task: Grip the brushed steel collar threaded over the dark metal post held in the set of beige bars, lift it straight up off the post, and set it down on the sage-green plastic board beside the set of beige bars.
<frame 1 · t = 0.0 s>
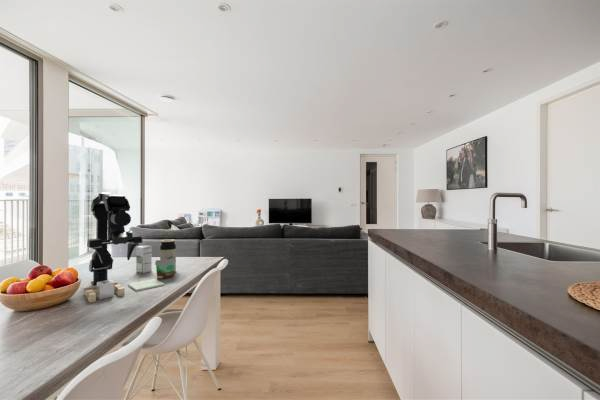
hand: (115, 261, 117), 15 cm above the table, tool pointing down, fingers open, 9 cm apart
food container: (168, 277, 146), on the table
syrup box: (144, 271, 158), on the table
travel mug: (168, 272, 157), on the table
steel collar: (105, 296, 117), resting in set of beige bars
set of beige bars: (105, 296, 117), on the table
board: (146, 285, 132), on the table
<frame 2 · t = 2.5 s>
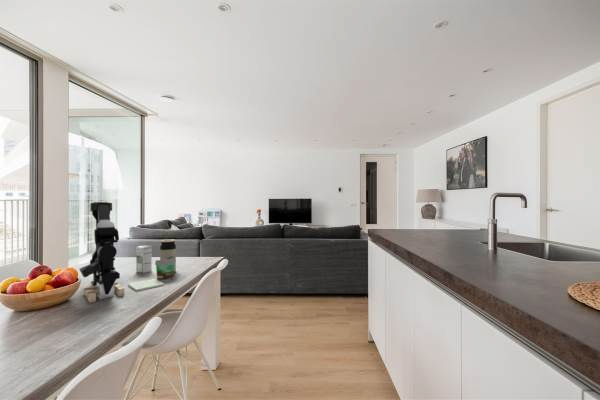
hand: (105, 292, 117), 2 cm above the table, tool pointing down, fingers closed on steel collar, 5 cm apart
steel collar: (105, 296, 117), resting in set of beige bars, touching gripper
everything else where it was.
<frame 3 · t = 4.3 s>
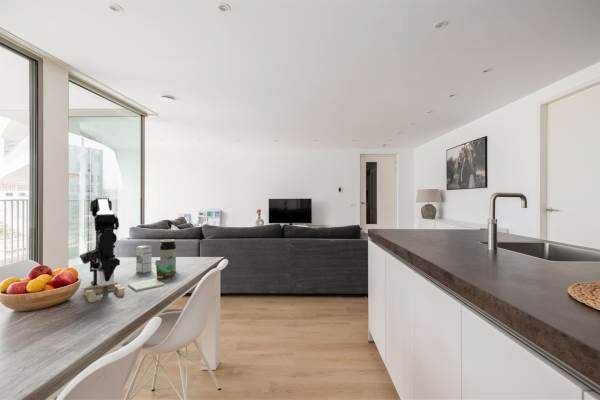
hand: (105, 280, 117), 7 cm above the table, tool pointing down, fingers closed on steel collar, 5 cm apart
steel collar: (105, 283, 117), point 5 cm above the table, touching gripper
everything else where it was.
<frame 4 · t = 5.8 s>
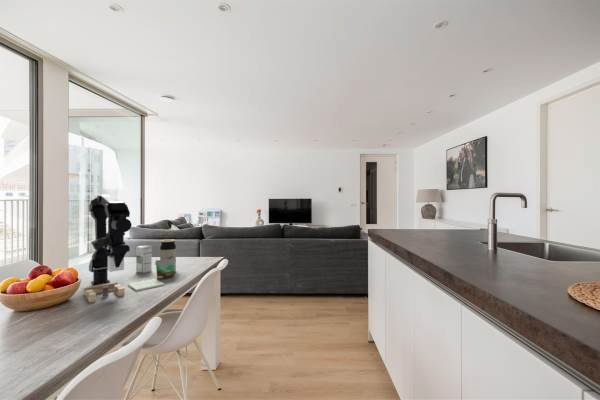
hand: (115, 266, 121), 12 cm above the table, tool pointing down, fingers closed on steel collar, 5 cm apart
steel collar: (115, 269, 121), point 10 cm above the table, touching gripper
everything else where it was.
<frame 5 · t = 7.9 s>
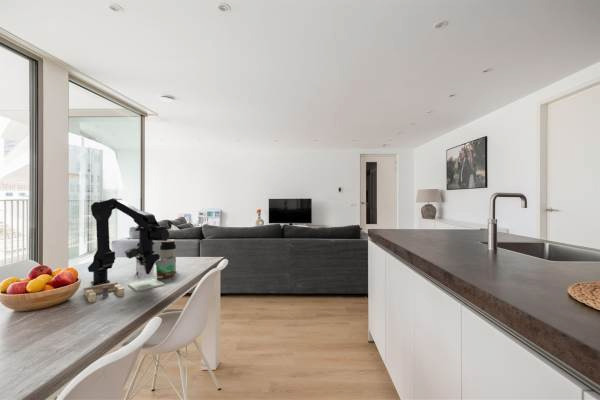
hand: (145, 273, 132), 6 cm above the table, tool pointing down, fingers closed on steel collar, 5 cm apart
steel collar: (145, 276, 132), point 4 cm above the table, touching gripper
everything else where it was.
when the fingers open (3 cm above the table, at t = 9.3 s): steel collar stays where it is, resting on board.
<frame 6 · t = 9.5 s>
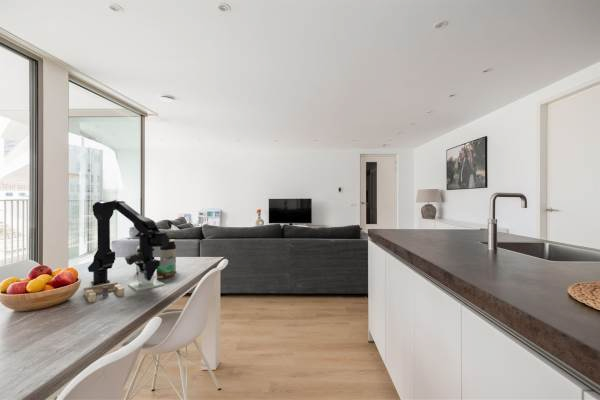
hand: (146, 279, 132), 3 cm above the table, tool pointing down, fingers open, 7 cm apart
steel collar: (146, 283, 132), point 1 cm above the table, touching board
everything else where it was.
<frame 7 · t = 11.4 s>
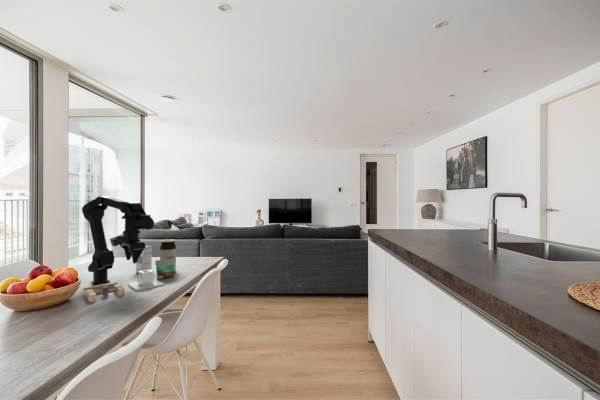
hand: (131, 261, 131), 12 cm above the table, tool pointing down, fingers open, 9 cm apart
nothing on the table moved.
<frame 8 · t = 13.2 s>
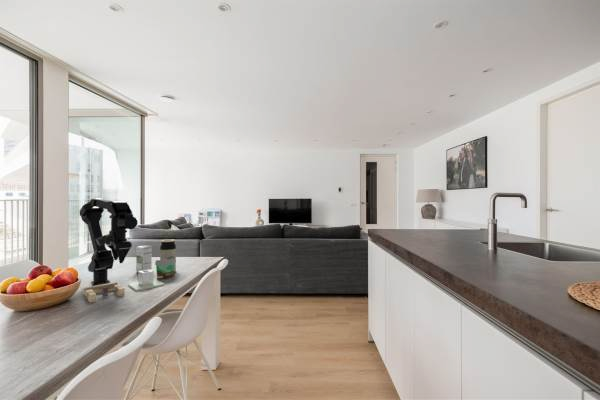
hand: (118, 261, 129), 12 cm above the table, tool pointing down, fingers open, 9 cm apart
nothing on the table moved.
at the end: steel collar inside the target area on the board (0.1 cm from its centre), point 0.8 cm above the board's base; steel collar tilted 0°; the gripper is holding nothing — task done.
